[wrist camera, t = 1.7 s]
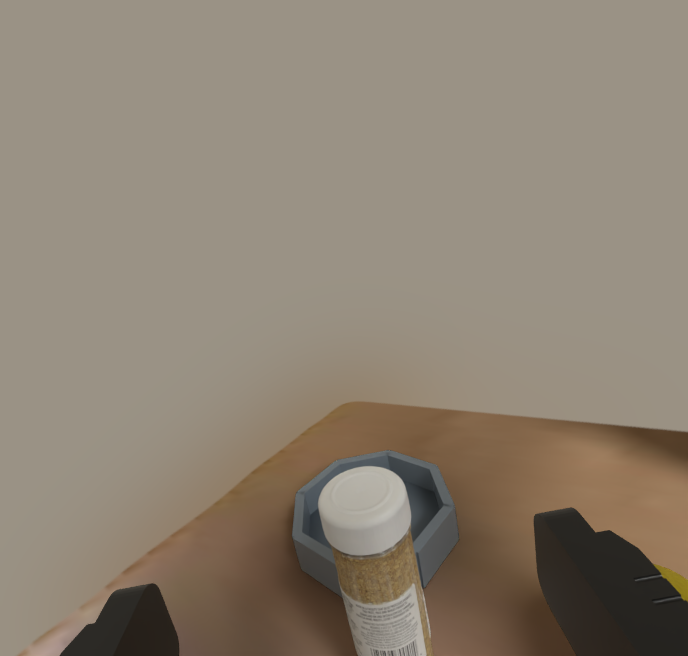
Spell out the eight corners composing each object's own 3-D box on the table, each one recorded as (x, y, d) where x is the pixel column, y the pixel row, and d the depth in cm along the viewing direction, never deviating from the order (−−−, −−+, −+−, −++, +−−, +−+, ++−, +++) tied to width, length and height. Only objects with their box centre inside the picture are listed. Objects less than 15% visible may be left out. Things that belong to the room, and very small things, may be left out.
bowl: (431, 469, 43) (427, 442, 42) (476, 579, 30) (471, 543, 29) (305, 494, 43) (298, 467, 42) (297, 613, 30) (288, 578, 30)
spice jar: (440, 643, 27) (410, 461, 23) (438, 730, 22) (400, 525, 19) (369, 636, 28) (329, 462, 24) (355, 717, 24) (304, 522, 20)
